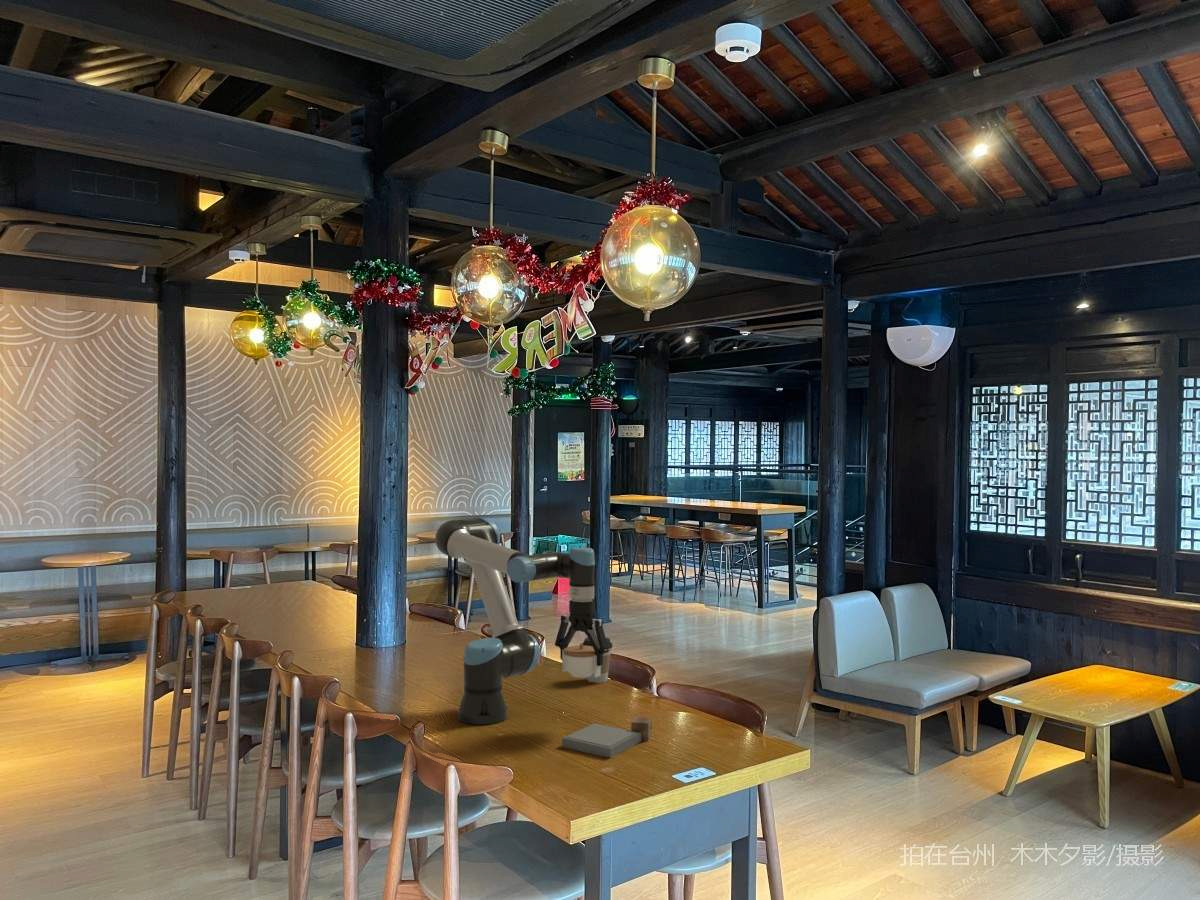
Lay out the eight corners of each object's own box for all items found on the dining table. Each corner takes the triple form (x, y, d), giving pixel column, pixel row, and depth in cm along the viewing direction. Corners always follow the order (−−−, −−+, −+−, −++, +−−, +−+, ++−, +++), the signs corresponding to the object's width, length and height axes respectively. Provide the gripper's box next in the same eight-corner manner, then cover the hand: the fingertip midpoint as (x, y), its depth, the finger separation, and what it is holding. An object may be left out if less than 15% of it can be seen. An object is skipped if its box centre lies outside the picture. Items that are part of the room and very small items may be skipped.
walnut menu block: (631, 739, 239) (631, 722, 239) (635, 734, 244) (635, 716, 244) (648, 741, 238) (648, 723, 238) (651, 735, 243) (651, 718, 243)
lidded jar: (567, 681, 245) (568, 648, 245) (559, 671, 255) (560, 640, 255) (603, 678, 247) (603, 646, 248) (593, 669, 258) (594, 639, 258)
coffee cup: (614, 677, 308) (614, 636, 308) (611, 685, 297) (611, 642, 297) (583, 676, 309) (583, 635, 309) (579, 684, 298) (579, 642, 298)
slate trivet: (562, 746, 233) (562, 737, 233) (594, 731, 246) (594, 722, 246) (610, 758, 224) (610, 748, 224) (641, 741, 237) (641, 732, 237)
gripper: (543, 597, 255) (542, 670, 254) (607, 605, 242) (606, 682, 242) (557, 594, 261) (557, 665, 261) (621, 601, 248) (620, 676, 248)
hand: (581, 673), depth 251 cm, fingers closed on lidded jar, 11 cm apart
